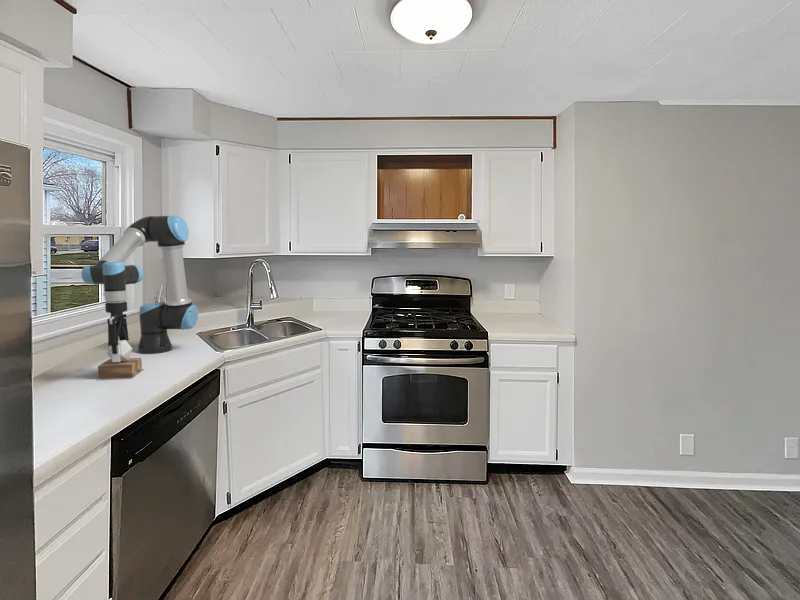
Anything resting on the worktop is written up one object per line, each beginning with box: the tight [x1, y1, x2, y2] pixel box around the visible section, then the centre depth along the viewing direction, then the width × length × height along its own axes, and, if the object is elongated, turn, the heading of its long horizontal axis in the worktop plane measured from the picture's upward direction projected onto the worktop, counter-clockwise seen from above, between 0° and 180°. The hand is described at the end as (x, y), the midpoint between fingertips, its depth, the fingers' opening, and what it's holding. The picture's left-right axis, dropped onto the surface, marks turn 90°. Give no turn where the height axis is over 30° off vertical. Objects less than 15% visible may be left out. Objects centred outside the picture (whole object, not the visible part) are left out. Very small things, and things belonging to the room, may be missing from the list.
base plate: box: [95, 368, 145, 382], centre depth 215 cm, size 16×13×1 cm
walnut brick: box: [97, 357, 143, 379], centre depth 215 cm, size 12×12×5 cm
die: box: [106, 340, 133, 362], centre depth 214 cm, size 8×9×10 cm
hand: (120, 359), depth 214 cm, fingers closed on die, 8 cm apart
